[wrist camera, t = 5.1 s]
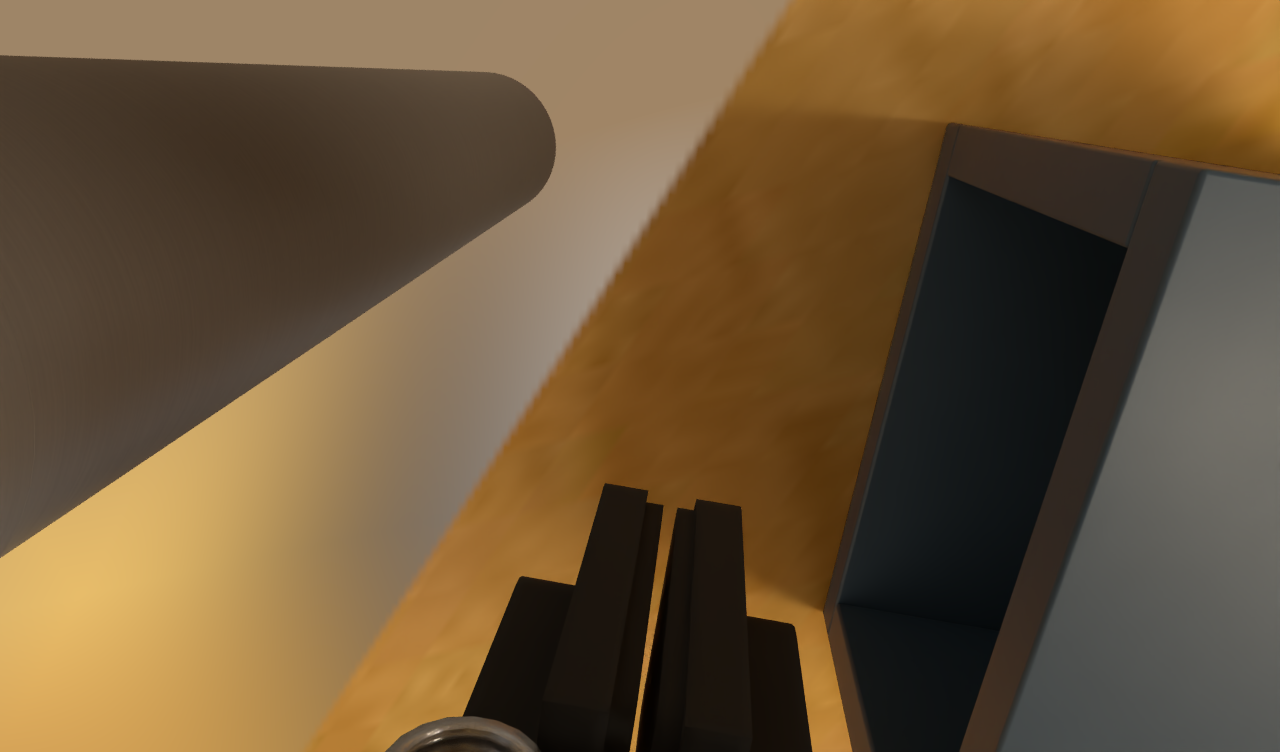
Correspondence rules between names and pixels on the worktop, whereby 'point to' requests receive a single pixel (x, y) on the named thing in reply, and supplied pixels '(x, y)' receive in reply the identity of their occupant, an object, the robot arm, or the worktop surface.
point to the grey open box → (1072, 464)
